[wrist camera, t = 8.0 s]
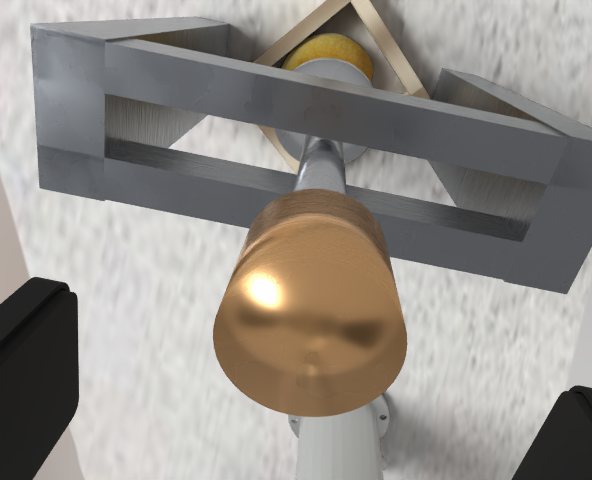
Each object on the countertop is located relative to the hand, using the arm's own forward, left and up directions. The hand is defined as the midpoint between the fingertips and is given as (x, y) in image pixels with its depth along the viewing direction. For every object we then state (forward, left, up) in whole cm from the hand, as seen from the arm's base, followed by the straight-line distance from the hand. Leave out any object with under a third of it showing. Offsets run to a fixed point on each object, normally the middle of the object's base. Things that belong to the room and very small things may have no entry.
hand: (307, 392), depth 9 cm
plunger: (0, 0, -26) cm, 26 cm away
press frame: (0, 0, -38) cm, 38 cm away
